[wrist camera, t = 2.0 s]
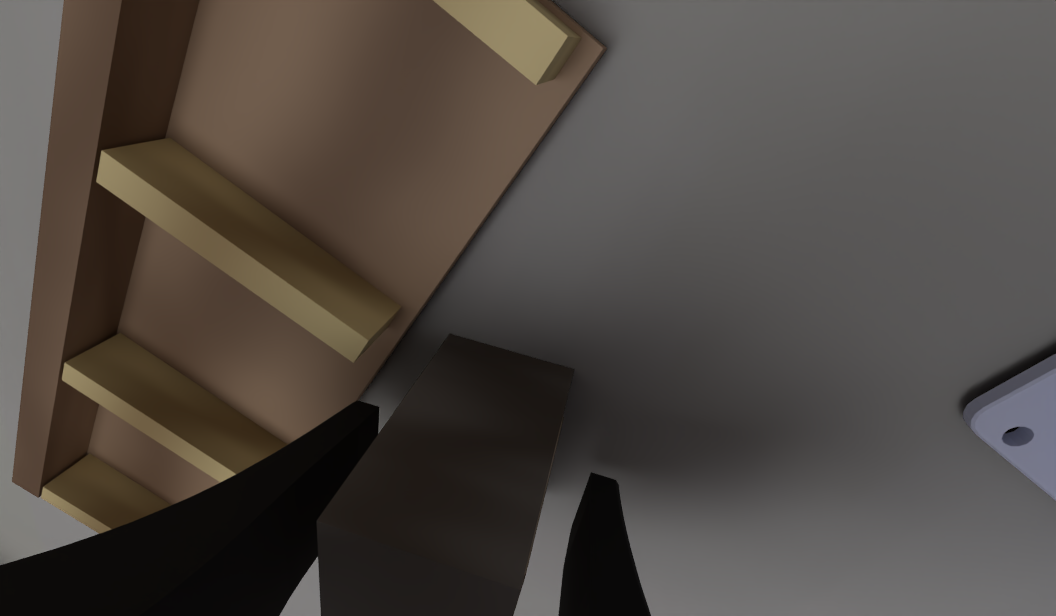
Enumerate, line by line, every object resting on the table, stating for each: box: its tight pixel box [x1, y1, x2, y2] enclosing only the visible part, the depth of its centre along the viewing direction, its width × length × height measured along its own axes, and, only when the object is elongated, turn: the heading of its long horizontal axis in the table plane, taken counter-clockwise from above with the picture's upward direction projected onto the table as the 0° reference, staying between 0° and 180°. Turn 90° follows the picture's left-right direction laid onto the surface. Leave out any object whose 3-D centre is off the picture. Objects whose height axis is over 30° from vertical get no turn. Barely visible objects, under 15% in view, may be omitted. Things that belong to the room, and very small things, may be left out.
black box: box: [317, 334, 574, 616], centre depth 11 cm, size 4×5×6 cm
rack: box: [12, 0, 607, 534], centre depth 13 cm, size 8×22×2 cm, turn 144°
